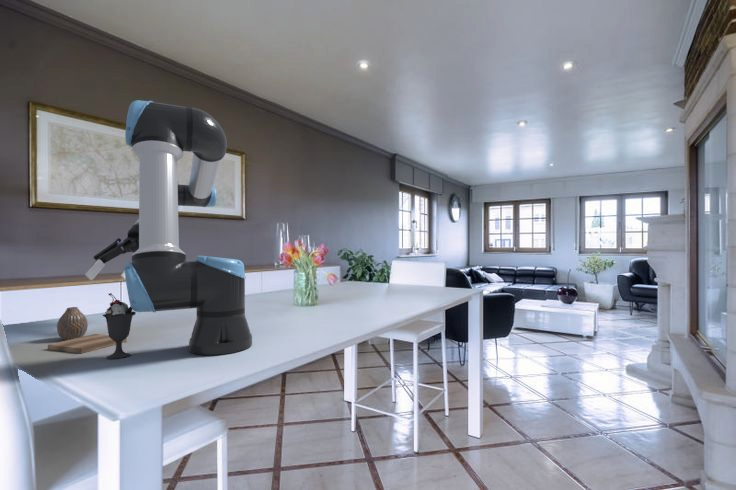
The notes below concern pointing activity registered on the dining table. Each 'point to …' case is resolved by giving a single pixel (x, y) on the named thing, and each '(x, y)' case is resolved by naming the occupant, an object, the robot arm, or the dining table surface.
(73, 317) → the vase
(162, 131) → the robot arm
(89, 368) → the dining table surface
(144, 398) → the dining table surface
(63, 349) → the walnut board
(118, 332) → the sundae
